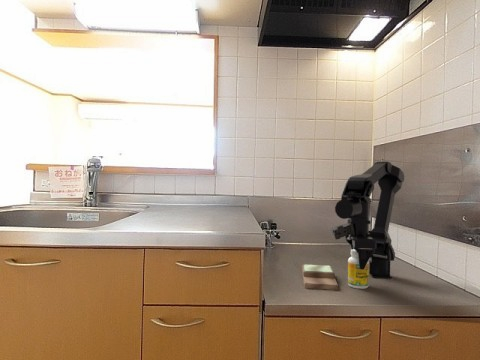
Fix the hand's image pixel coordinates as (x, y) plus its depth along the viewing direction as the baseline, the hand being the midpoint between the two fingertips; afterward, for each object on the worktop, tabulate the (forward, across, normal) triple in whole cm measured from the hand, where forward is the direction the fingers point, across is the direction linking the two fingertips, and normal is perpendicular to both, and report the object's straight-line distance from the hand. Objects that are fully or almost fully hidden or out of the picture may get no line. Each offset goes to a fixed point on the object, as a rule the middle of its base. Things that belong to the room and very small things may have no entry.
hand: (358, 265), depth 106 cm
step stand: (+6, -3, -12) cm, 14 cm away
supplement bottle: (+7, 0, 0) cm, 7 cm away
